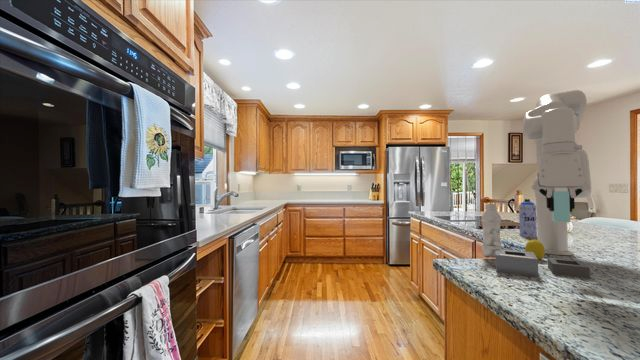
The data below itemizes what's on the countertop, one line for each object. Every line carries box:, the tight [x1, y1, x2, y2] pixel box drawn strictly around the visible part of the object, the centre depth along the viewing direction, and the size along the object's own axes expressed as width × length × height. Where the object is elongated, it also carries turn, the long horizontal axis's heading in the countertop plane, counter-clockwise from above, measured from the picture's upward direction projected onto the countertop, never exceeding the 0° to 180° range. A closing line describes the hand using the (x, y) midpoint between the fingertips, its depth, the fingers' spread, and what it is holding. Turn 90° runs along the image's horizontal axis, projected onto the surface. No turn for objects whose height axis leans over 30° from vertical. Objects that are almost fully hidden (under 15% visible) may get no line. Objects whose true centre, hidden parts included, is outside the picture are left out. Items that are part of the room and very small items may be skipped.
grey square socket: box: [547, 257, 591, 280], centre depth 82 cm, size 8×8×4 cm
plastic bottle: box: [481, 203, 502, 259], centre depth 103 cm, size 6×7×20 cm
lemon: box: [524, 238, 546, 261], centre depth 98 cm, size 6×6×8 cm
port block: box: [495, 248, 539, 278], centre depth 85 cm, size 10×10×6 cm
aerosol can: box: [518, 198, 537, 238], centre depth 150 cm, size 8×8×20 cm
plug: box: [552, 188, 571, 223], centre depth 83 cm, size 4×4×10 cm
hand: (560, 210), depth 83 cm, fingers closed on plug, 3 cm apart
